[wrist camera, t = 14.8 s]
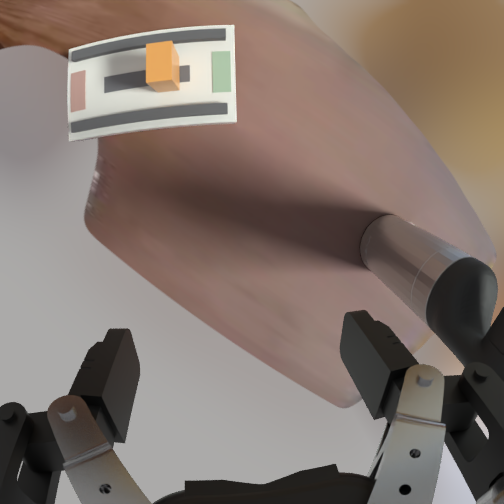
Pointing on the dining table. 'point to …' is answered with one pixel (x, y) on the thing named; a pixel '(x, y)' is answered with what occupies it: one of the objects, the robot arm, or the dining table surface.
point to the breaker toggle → (162, 66)
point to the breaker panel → (144, 96)
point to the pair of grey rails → (154, 113)
